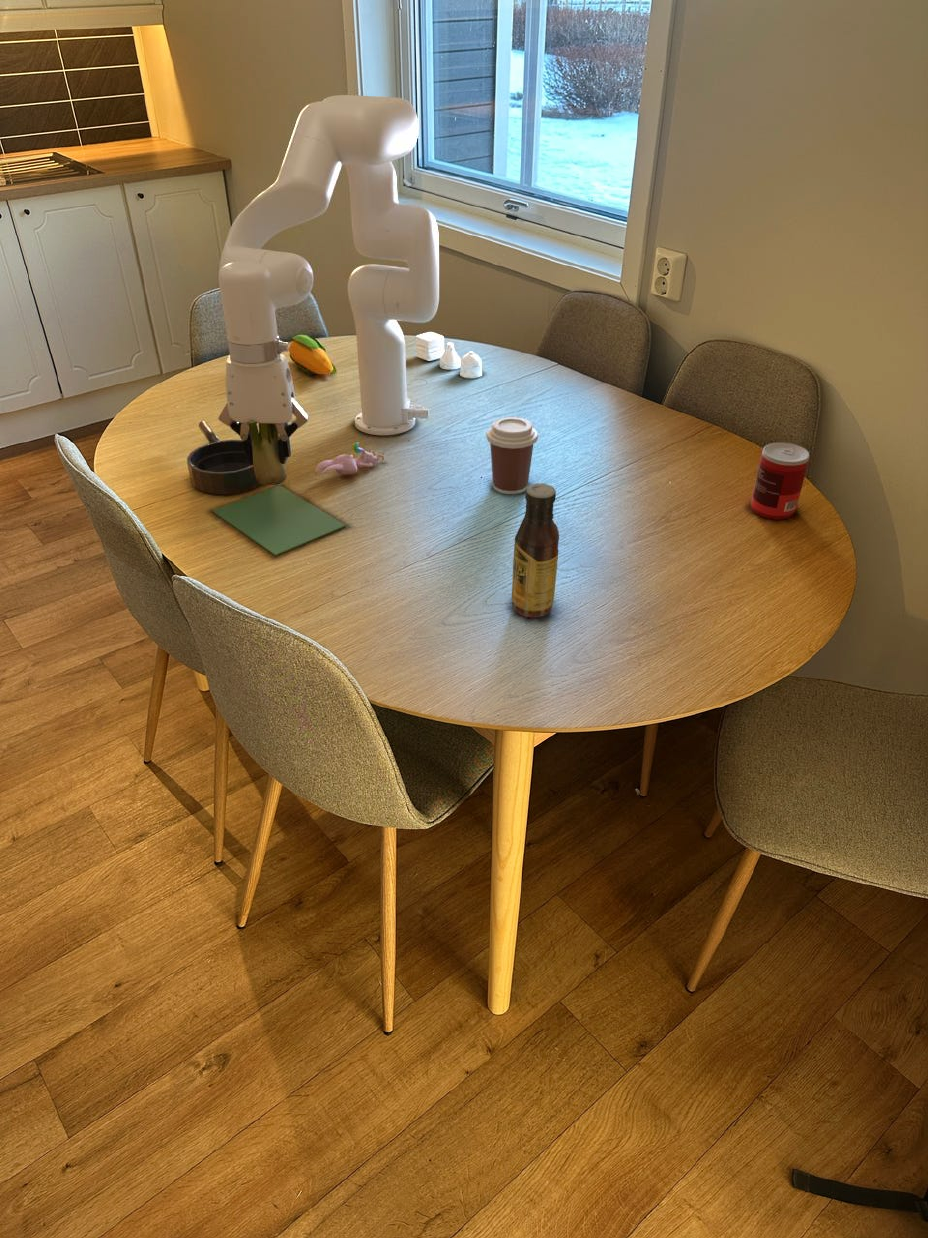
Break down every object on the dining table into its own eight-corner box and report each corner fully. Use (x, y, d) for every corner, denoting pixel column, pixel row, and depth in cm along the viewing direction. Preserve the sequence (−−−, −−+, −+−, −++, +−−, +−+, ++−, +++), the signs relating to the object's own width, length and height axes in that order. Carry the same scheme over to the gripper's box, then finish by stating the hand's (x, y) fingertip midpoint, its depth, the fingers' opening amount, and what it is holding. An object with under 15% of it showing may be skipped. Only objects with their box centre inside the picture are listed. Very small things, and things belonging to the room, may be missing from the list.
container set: (415, 357, 216) (414, 335, 212) (431, 352, 218) (431, 330, 215) (470, 379, 204) (470, 356, 200) (486, 374, 207) (487, 351, 203)
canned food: (796, 502, 156) (810, 445, 149) (794, 523, 150) (809, 465, 143) (751, 495, 158) (764, 439, 151) (748, 516, 152) (761, 458, 145)
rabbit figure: (368, 462, 171) (306, 475, 161) (370, 432, 168) (307, 444, 158) (389, 472, 168) (328, 486, 158) (392, 442, 165) (330, 455, 155)
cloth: (345, 526, 148) (345, 525, 148) (275, 556, 141) (275, 554, 140) (280, 486, 160) (280, 485, 160) (212, 511, 152) (211, 510, 152)
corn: (307, 324, 212) (344, 348, 198) (312, 355, 216) (348, 380, 203) (278, 332, 209) (314, 356, 195) (284, 363, 213) (320, 388, 200)
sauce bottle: (508, 597, 131) (513, 477, 120) (549, 595, 132) (558, 475, 120) (514, 622, 126) (520, 500, 114) (557, 620, 126) (567, 498, 115)
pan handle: (223, 449, 166) (222, 441, 165) (214, 451, 166) (212, 443, 165) (207, 427, 175) (206, 418, 174) (198, 429, 174) (196, 420, 173)
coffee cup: (542, 480, 162) (546, 419, 155) (524, 501, 156) (527, 438, 149) (497, 471, 165) (498, 410, 158) (477, 491, 159) (478, 429, 152)
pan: (276, 461, 168) (273, 440, 166) (260, 496, 157) (256, 474, 154) (203, 460, 169) (199, 438, 166) (181, 495, 157) (177, 472, 155)
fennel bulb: (259, 491, 143) (249, 422, 136) (250, 479, 147) (240, 411, 140) (293, 484, 145) (285, 415, 138) (283, 472, 149) (275, 405, 142)
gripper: (313, 342, 136) (324, 451, 146) (206, 340, 136) (224, 449, 147) (305, 358, 130) (316, 471, 140) (192, 356, 130) (212, 469, 141)
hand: (269, 458), depth 144 cm, fingers closed on fennel bulb, 4 cm apart
